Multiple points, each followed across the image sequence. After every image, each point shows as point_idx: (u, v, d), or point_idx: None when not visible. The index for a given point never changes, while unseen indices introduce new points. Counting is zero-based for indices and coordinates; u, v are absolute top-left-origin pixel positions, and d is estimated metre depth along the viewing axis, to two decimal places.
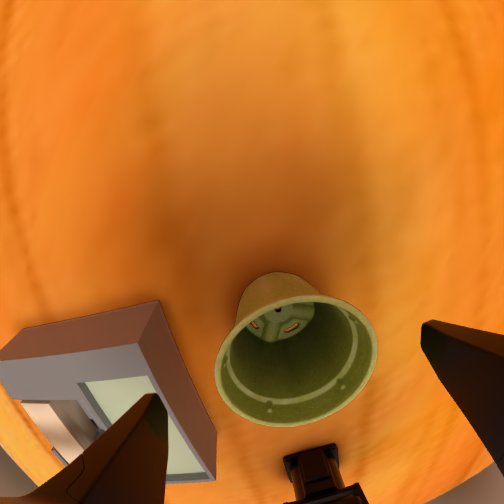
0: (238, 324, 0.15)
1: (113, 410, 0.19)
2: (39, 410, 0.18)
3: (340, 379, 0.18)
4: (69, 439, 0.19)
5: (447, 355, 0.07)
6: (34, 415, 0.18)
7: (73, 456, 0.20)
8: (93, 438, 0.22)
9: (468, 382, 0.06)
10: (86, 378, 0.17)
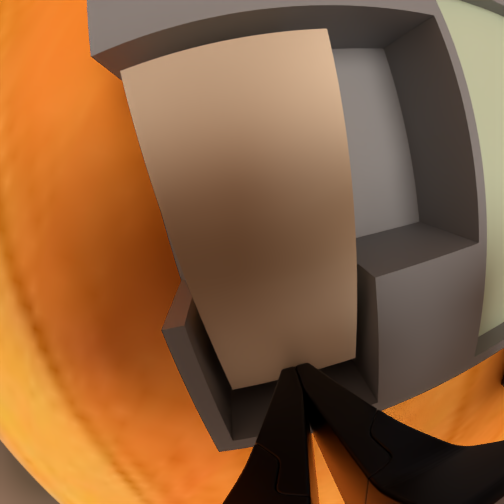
0: None
1: (468, 85, 0.07)
2: (238, 79, 0.05)
3: None
4: (321, 239, 0.07)
5: (308, 407, 0.07)
6: (181, 125, 0.05)
7: (278, 335, 0.08)
8: None
9: (324, 443, 0.06)
10: None
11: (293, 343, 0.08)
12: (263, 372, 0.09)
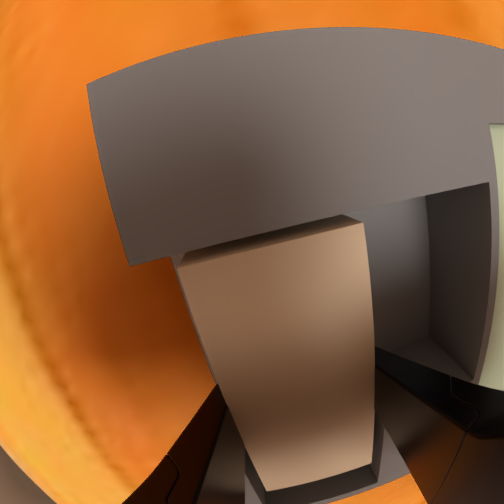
0: None
1: (498, 235, 0.08)
2: (285, 280, 0.06)
3: None
4: (347, 392, 0.07)
5: (377, 385, 0.07)
6: (235, 320, 0.06)
7: (308, 455, 0.08)
8: None
9: (397, 418, 0.06)
10: None
11: (320, 459, 0.08)
12: (293, 479, 0.08)
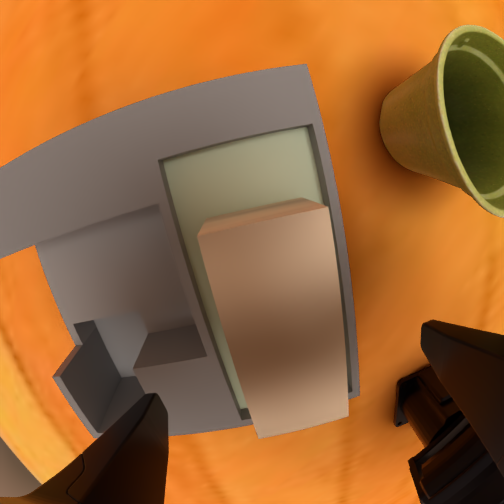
0: (451, 32, 0.08)
1: None
2: (272, 246, 0.09)
3: None
4: (321, 340, 0.10)
5: (447, 355, 0.07)
6: (237, 275, 0.09)
7: (293, 400, 0.11)
8: None
9: (468, 382, 0.06)
10: (184, 143, 0.11)
11: (303, 406, 0.11)
12: (281, 426, 0.11)
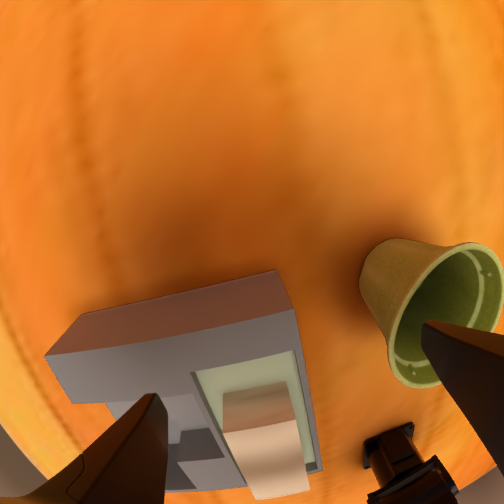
0: (424, 271, 0.13)
1: None
2: (263, 435, 0.14)
3: None
4: (291, 464, 0.15)
5: (447, 355, 0.07)
6: (244, 446, 0.15)
7: (275, 485, 0.16)
8: None
9: (468, 382, 0.06)
10: (207, 364, 0.16)
11: (281, 487, 0.16)
12: (269, 495, 0.16)
